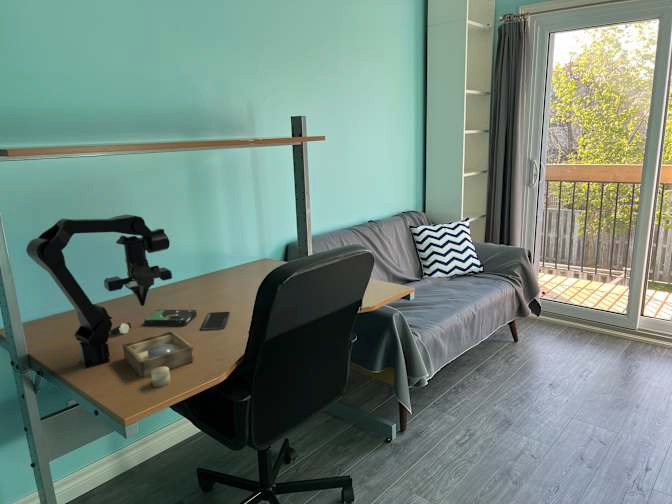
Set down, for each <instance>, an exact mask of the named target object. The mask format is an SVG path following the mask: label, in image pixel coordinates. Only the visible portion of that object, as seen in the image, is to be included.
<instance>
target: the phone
mask: <svg viewBox="0 0 672 504" xmlns="http://www.w3.org/2000/svg"><path fill="white" fill-rule="evenodd" d="M230 315H231V311H216V312H214V311H213V312H208V314H207V315H206V317H205V318H204V321H203V322H202V325H201V326H200V331H217V330H218V331H219V330H224V329H225V328H226V326H227V324H228V321H229V319H230Z"/></svg>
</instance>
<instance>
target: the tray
mask: <svg viewBox="0 0 672 504" xmlns="http://www.w3.org/2000/svg"><path fill="white" fill-rule="evenodd" d="M170 332H171V334H170V335H167V336H163V337H159V338H156V339H152V340H148V341H145V342H141V343H138V344H134V345H130V346H128V347H129V348H130V349H131V350H132V351H133V353H134V354H135V355H136V356H137V357H138V358H139V359H140V360H141V361H144V360H148V359H149V358H148V350H149V349H150V348H152V347H154V346H157V345H163V344H168V345H172V346H173V348H174V352H175V351H178V350H181V349H185V348H188V347H191V351H192V360H193V361H194V360H195V352H194V346H193V345H192V344H191V343H189V342H188V341H187V340H185V339H184V338H183V337H181V336H180V335H179V334H178V333H176V332H175V331H173V330H172V331H170Z"/></svg>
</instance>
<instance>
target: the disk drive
mask: <svg viewBox="0 0 672 504" xmlns="http://www.w3.org/2000/svg"><path fill="white" fill-rule="evenodd" d="M197 315H198V313H197V310H196V309H156V310H155V311H154V312H152V313H150V315H149V316H148V317H146V318H144V322H143V323H144V326H148V327H149V326H150V327H153V326H154V327H187V326H188V325H189V324H190V323H191V322H192V321H193V320H194V319H195V318H196V317H197Z"/></svg>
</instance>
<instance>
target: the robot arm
mask: <svg viewBox="0 0 672 504" xmlns="http://www.w3.org/2000/svg"><path fill="white" fill-rule="evenodd" d="M95 233H96V234H97V233H99V234H100V233H118V234H126V235H131V236H126V235H120V236H119V238H118V239H117V240H116V241H115V243H116V244H117V245H122V246H123V247H124V248H123V249H124V255H125V263H126V268H127V269H126V270H127V272H126V274H127V277H123V278H121V277H119V276H116V275H115V276H113V277H112V276H111V277H107V278H105V279H104V280H103V283H104V284H103V286H104V288H105V289H106V290H107V291H108V292H115V291H119V290H120V291H121V290H122V288H123V287H125V288H127V289H128V290H131V292H132V293H133V295H134V297H135V298H136V300H137V301H138V304H139V306H141V307H144V306H145V302H146V299H147V294H148V293H149V292H148V291H149V289H150V288H151V287H152V286H154V285H155V279H160V280H161V281H168V280H172V279H173V273H172V270H170V269H168V268H167V267H164V266H163V267H159V265H153V266H152V265H151V266H150V265H149V261H148V259H147V254H146V252H147V253H149V254H153V253H158V252H162V251H165V250H168V249H169V248H170V244H171V242H170V241H171V240H170V239H169V237H168V235H167V233H165V229H164V228H157V229H153V230H151V229H150V228H149V227H148V225H147V224H146V222H145V219H143V217H142V216H141V215H132V214H122V215H116V216H113V217H109V218H86V219H85V218H75V219H72V218H70V219H69V218H61V219H59V220H58V221H56V222H55V224H54V225H52V226H51V227H49V228H48V229H46V230H45V231H44V232H42V233H41V234H40V235H39V236H38V237H37V238H33V239H32V240H31V241H30V242H28V243H27V246H26V251H25V252H26V254H27V255H28V256H29V258H30V259H32V260H33V262H35V264H36V265H38V266H39V267H41V268H42V269H43V270H45V271H46V272H47V273H48V274H49V275H50V277H51V278H52V279H53V281H54V282H55V283H56V285H57V286H58V287H59V289H60V290H61V291H62V293H63V294H64V296H65V297H66V299H67V300H68V301H69V303H70V304H71V305H72V306H73V308H74V310H75V311H76V313H77V318H78V322H79V323H80V326H79V327H78V329H77V330H76V331H75V333H73V336H74V338H75V340H76V341H77V342H78V343H79V349H80V356H81V359H80V362H81V363H82V364H83V366H84V367H85V368H91V367H93V366H94V367H95V366H97V365H101V364H105V363H108V362H110V361H111V358H110V357H111V355H110V349H109V343H108V341H109V336H110V331H111V330H112V326H113V322H112V319H113V317H112V316H110V315H109V313H108V310H106V307H103V306H101V305H98V304H95V303H92V300H90V298H89V296H88V295H87V294H86V293H85V291H84V290H83V289H82V286H81V285H80V284H79V283H78V281H77V280H76V278H75V277H74V275H73V274H72V273H71V271H70V270H69V269H68V267H67V264H66V260H65V259H66V258H65V255H64V253H63V250H64V249H65V248H66V247H67V245H68V243H70V240H71V239H72V237H73V236H74V235H75V234H95ZM138 236H140V237H138Z"/></svg>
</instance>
